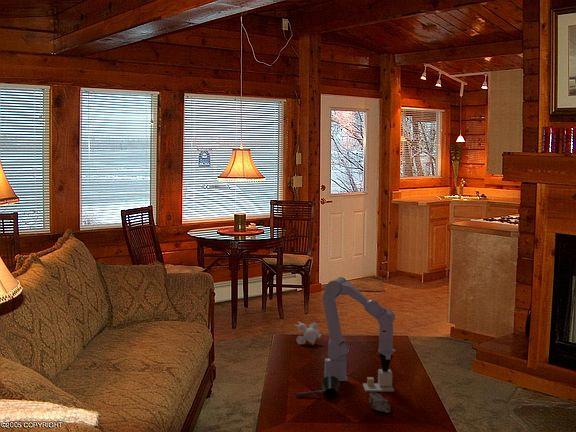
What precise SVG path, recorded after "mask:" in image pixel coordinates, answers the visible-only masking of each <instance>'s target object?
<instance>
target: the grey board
mask: <svg viewBox="0 0 576 432" xmlns="http://www.w3.org/2000/svg"><path fill="white" fill-rule="evenodd" d="M362 388H363V389H364V392H366V393H367V392H369V393H371V392H375V393H377V392H390V393H391V392H395V388H394V387H393V385H392V386H379V384H378V382H376V383H375V379H374V377H373V376H372V377H371V376H367V377H366V382H365V383H363V382H362Z"/></svg>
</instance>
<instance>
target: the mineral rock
mask: <svg viewBox="0 0 576 432" xmlns="http://www.w3.org/2000/svg"><path fill="white" fill-rule="evenodd" d="M368 395H369V399H368V400H369V404H370V408H371V409H372V410H374V411H379V412H382V413H386V414H387V413H391V411H392V410H391V409H392V404H391V402H390V401H389V400H388V399H386V398H385V397H384V396H383V395H382V394H381V393H377V392H369V394H368Z"/></svg>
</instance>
